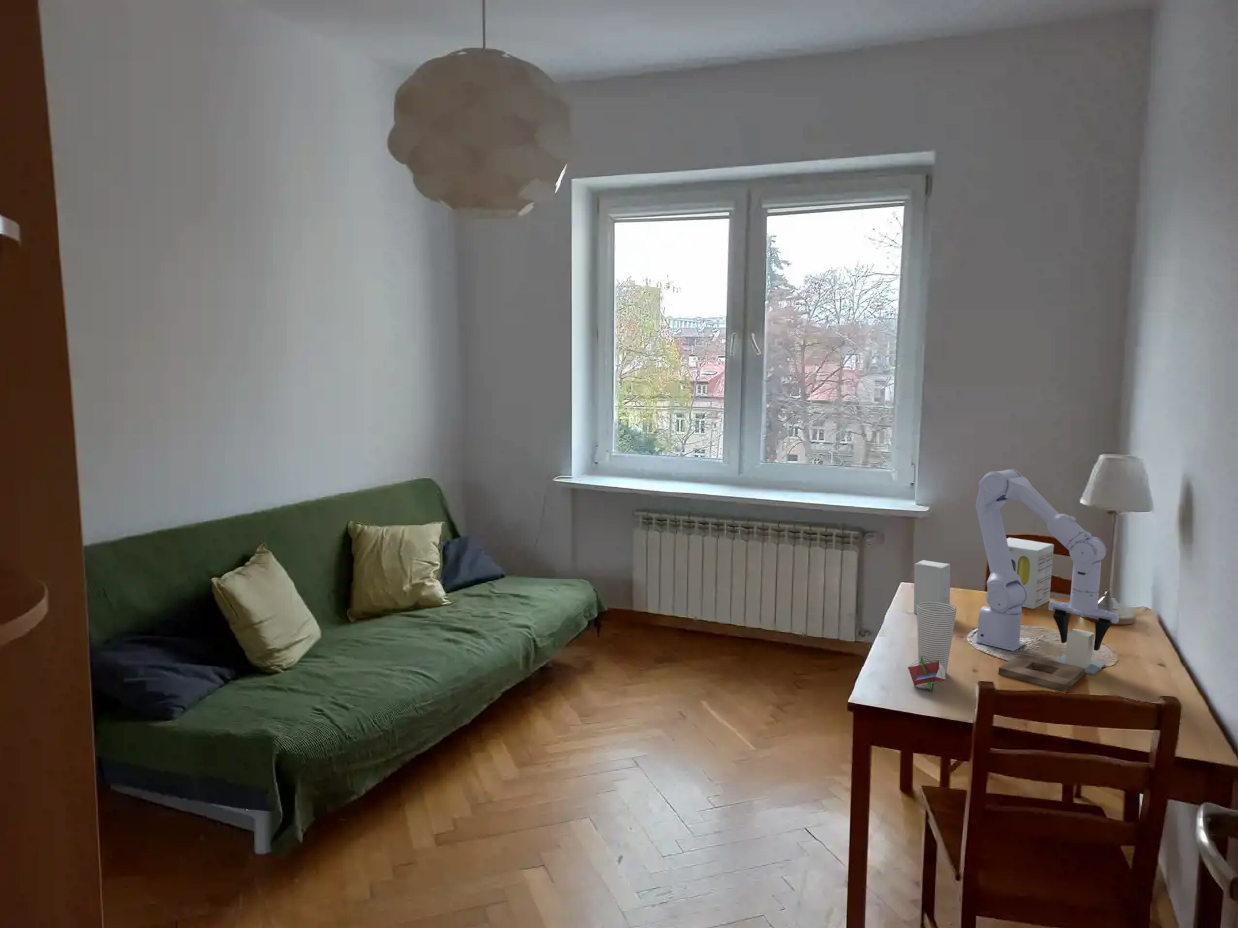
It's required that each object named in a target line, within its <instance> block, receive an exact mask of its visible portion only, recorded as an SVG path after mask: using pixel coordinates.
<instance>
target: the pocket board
mask: <svg viewBox="0 0 1238 928" xmlns="http://www.w3.org/2000/svg"><path fill="white" fill-rule="evenodd" d="M1033 669H1035V670H1033ZM1037 670H1039V671H1037ZM1041 671H1043V672H1041ZM997 673H998V675H1001V676H1004V677H1009V678H1013V679H1016V680H1020V681H1023V682H1028V683H1032V684H1034V685H1039V686H1042V687H1047V688H1050V689H1054V690H1057V691H1062V692H1066V691H1067V690H1069V688H1070V687H1072V686H1073V685H1074V684H1076V682H1078V681H1079V680H1080V679H1081V678H1083V677H1084V676H1085V674H1086V673H1085V668H1080V667H1076V666H1072V665H1068V664H1064V663H1060V662H1056V661H1055V660H1051V659H1047V658H1042V657H1039V656H1035V655H1031V654H1026V653H1024V652H1023V653H1022V652H1021V653H1019V654H1018V655H1016V656H1015V657H1013V658H1012V659H1010V660H1009V661H1007V662H1005V663H1003V664H1002V665H1000V666H999V667H998V672H997Z"/></svg>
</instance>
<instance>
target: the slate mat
mask: <svg viewBox="0 0 1238 928" xmlns="http://www.w3.org/2000/svg"><path fill="white" fill-rule="evenodd" d="M1065 657H1066V653H1064V654H1062V655H1061V656H1059V657H1058V658H1056V659H1055V660H1054V661H1056V662H1060V663H1064V664H1065ZM1068 665H1069V664H1068ZM1072 666H1074V665H1072ZM1105 666H1106V663H1104V662H1099V661H1096V660H1092V664H1091V665H1090V666H1088V667H1087V668H1085V674H1088V675H1092V676H1095V675H1096V674H1097V673H1099V671H1101V670H1102V669H1103V668H1105ZM1076 667H1078V666H1076ZM1102 667H1103V668H1102ZM1080 668H1082V667H1080ZM1101 668H1102V669H1101Z"/></svg>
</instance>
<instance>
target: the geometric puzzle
mask: <svg viewBox="0 0 1238 928" xmlns="http://www.w3.org/2000/svg"><path fill="white" fill-rule="evenodd" d="M921 657H922V658H921V661H920V662H919V663H921V664H922V665H918V664H917V665H916V663H913V665H912V664H910V665H909V666H907V669H908V671H909V674H910V678H911V681H912V683H913V687H917V686H920V685H921V686H923V687H925V686H924V685H926V684H927V685H928V687H929V689H928V691H929V692H930V693H932V691H933V690H935V688H936V687H934V689H933V686H934V685H936V684H937V683H938V684H939V683H940V684H941V683H942V682H943V681H945V680H947V678H946V674H945V669H944V668H943V666H942V665H941V663H940V662H939V661H938V662H937V661H929V662H931V663H928V664H925V662H924V659H923V655H922V656H921ZM924 658H925V656H924ZM927 658H928V657H927ZM930 659H931V658H930ZM927 660H928V659H927ZM933 660H934V659H933ZM916 661H918V659H916V660H915V662H916ZM932 662H933V663H932ZM934 682H935V683H934ZM940 684H939V685H940ZM925 688H926V687H925ZM924 690H926V691H927V688H926V689H924Z"/></svg>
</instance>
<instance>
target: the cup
mask: <svg viewBox="0 0 1238 928" xmlns="http://www.w3.org/2000/svg"><path fill="white" fill-rule="evenodd" d="M956 614H957V608H956V606H955V605H953V604H951V603H950V604H947V603H943V602H936V601H923V602H919V603H918V604H917V614H916V625H917V629H916V631H917V661H918V662H917V666H918V665H922V664H921V663H919V662H920V661H921V658H922V657H921V656H922V655H923V659H924V662H925V664H928V663H931V662H929V661H937V662H938V661H939V662H940V663H941V665H942V666H943V668H944V669H945V675H946V674H947V673H948V667H949V661H950V653H951V647H952V642H953V641H952V640H953V635H954V629H955V622H956ZM924 656H925V658H924ZM927 657H928V658H927ZM930 658H931V659H930ZM927 659H928V660H927ZM933 659H934V660H933ZM932 663H933V662H932Z"/></svg>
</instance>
